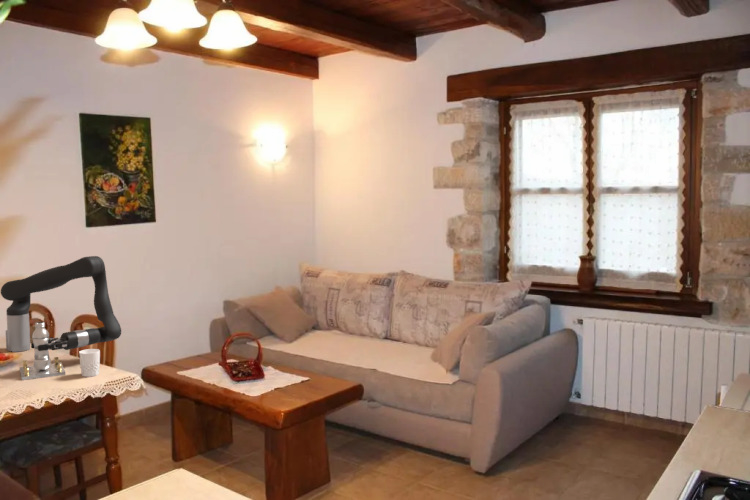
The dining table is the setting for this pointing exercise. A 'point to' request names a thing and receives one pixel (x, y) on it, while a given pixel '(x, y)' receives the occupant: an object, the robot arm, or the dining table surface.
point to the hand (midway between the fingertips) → (35, 347)
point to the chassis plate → (32, 373)
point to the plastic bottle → (41, 338)
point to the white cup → (89, 362)
